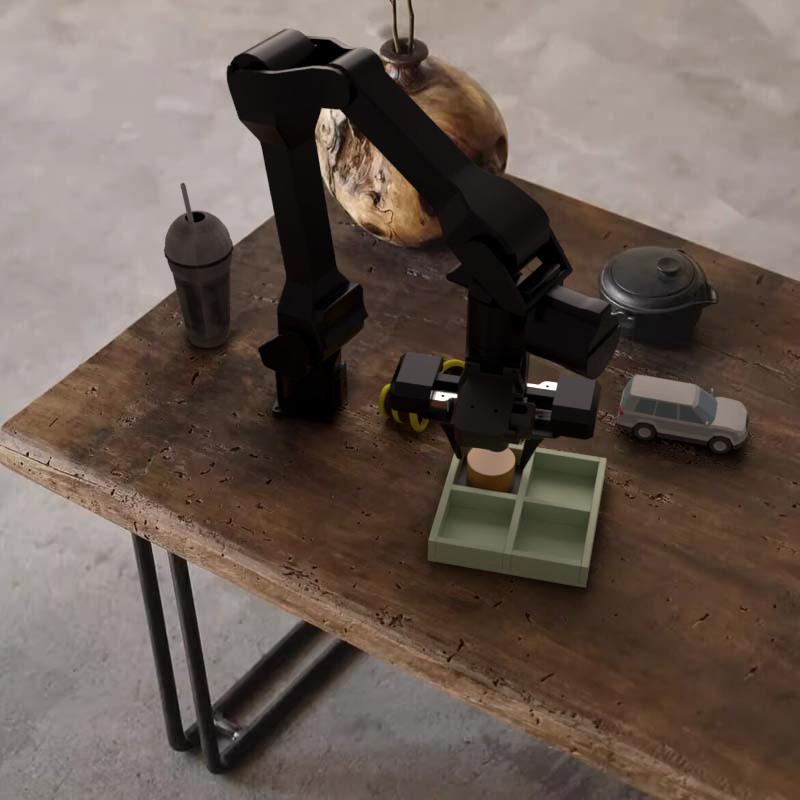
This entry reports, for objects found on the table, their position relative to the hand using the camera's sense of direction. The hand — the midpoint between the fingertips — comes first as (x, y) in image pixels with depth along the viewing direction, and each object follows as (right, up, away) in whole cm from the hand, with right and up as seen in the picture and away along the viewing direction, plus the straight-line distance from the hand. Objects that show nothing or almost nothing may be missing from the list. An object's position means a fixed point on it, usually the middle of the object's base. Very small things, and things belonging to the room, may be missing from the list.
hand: (491, 461), depth 125 cm
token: (0, -2, +2) cm, 3 cm away
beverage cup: (-30, +13, +21) cm, 39 cm away
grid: (+3, -5, -1) cm, 6 cm away
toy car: (+20, +3, +9) cm, 22 cm away
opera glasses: (-6, +5, +11) cm, 14 cm away
